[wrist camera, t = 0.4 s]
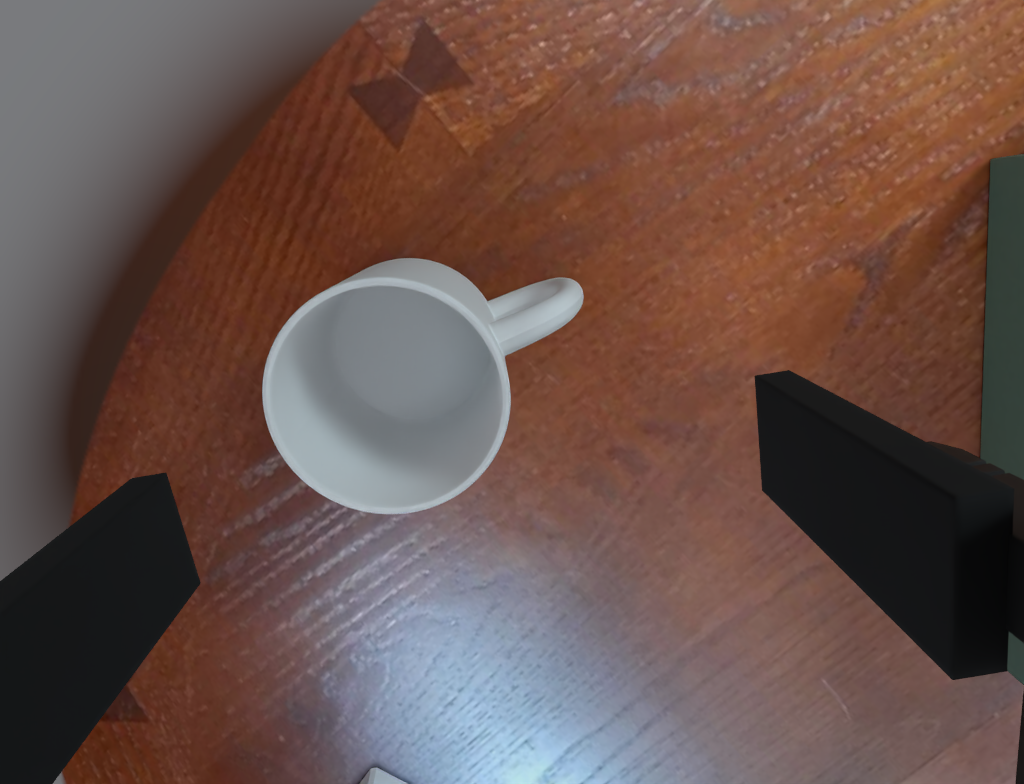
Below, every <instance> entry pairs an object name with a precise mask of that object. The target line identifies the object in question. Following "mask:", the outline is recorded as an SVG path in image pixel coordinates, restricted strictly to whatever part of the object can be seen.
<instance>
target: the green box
mask: <svg viewBox="0 0 1024 784" xmlns="http://www.w3.org/2000/svg"><path fill="white" fill-rule="evenodd" d="M980 458H981V459H983V460H985V461H986V464H988V463H991V464H993V465H995V466H997V467H999V468H1001V469H1003V470H1004V471H1005V474H1006V473H1011V474H1013V475H1015V476H1017V477H1019V478H1021V479H1023V480H1024V154H1020V155H1013V156H1007V157H1000V158H994V159H991V161H990V188H989V217H988V247H987V276H986V305H985V334H984V363H983V393H982V422H981V451H980ZM1007 671H1008V672H1009V673H1011V674H1012V675H1013V676H1014V677H1015V678H1016V679H1017V680H1019V681H1020V682H1021V683H1022V684H1023V685H1024V643H1023V642H1021V641H1020V640H1019V639H1018V638H1016V637H1015V636H1014V635H1013V634H1011V633H1010V632H1009V637H1008V663H1007Z"/></svg>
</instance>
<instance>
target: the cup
mask: <svg viewBox="0 0 1024 784" xmlns="http://www.w3.org/2000/svg"><path fill="white" fill-rule="evenodd" d="M583 297H584V296H583V290H582V288H581V286H580V285H579V284H578V283H577V282H576V281H574V280H573V279H570V278H553V279H548V280H545V281H541V282H538V283H534V284H531V285H528V286H526V287H523V288H520V289H518V290H515V291H512V292H510V293H507V294H505V295H502V296H500V297H497V298H495V299H492V300H490V301H487V300H486V299H485V297H484V296H483V294H482V293H481V292H480V291H479V289H478V288H477V287H476V286H475V285H474V284H473V283H472V282H471V281H470V280H468V279H467V278H466V277H465V276H463V275H462V274H460V273H459V272H457V271H455V270H454V269H452V268H450V267H448V266H445V265H443V264H440V263H437V262H434V261H430V260H425V259H417V258H402V259H394V260H389V261H385V262H381V263H378V264H375V265H373V266H371V267H368V268H366V269H364V270H363V271H361V272H359V273H357V274H355V275H353V276H351V277H349V278H347V279H346V280H344V281H342V282H340V283H338V284H336V285H334V286H332V287H331V288H329V289H327V290H325V291H323V292H321V293H319V294H318V295H316V296H315V297H313V298H312V299H310V300H309V301H307V302H306V303H305V304H304V305H302V306H301V307H300V308H299V309H298V310H297V311H296V312H295V313H294V314H293V315H292V316H291V317H290V318H289V319H288V321H287V322H286V323H285V325H284V326H283V327H282V329H281V330H280V332H279V334H278V335H277V337H276V339H275V341H274V343H273V345H272V347H271V349H270V352H269V355H268V358H267V361H266V365H265V369H264V375H263V384H262V398H263V408H264V414H265V419H266V422H267V426H268V429H269V432H270V434H271V437H272V439H273V441H274V443H275V445H276V447H277V449H278V451H279V452H280V454H281V456H282V457H283V459H284V460H285V461H286V463H287V464H288V465H289V467H290V468H291V469H292V470H293V471H294V472H295V473H296V474H297V475H298V476H299V478H300V479H302V480H303V481H304V482H305V483H306V484H307V485H309V486H310V487H311V488H313V489H314V490H315V491H317V492H318V493H320V494H321V495H323V496H325V497H326V498H328V499H330V500H332V501H334V502H336V503H339V504H341V505H344V506H346V507H349V508H352V509H356V510H360V511H364V512H370V513H377V514H404V513H411V512H417V511H421V510H425V509H428V508H432V507H434V506H437V505H439V504H442V503H444V502H446V501H448V500H450V499H452V498H453V497H455V496H457V495H458V494H460V493H461V492H463V491H464V490H465V489H467V488H468V487H469V486H471V485H472V484H473V483H474V482H475V481H476V480H477V479H478V478H479V477H480V476H481V475H482V474H483V472H484V471H485V470H486V469H487V468H488V466H489V465H490V463H491V462H492V461H493V459H494V457H495V455H496V454H497V452H498V450H499V448H500V446H501V443H502V441H503V439H504V436H505V433H506V430H507V425H508V421H509V414H510V400H511V394H510V383H509V378H508V373H507V367H506V362H505V356H506V355H508V354H511V353H513V352H515V351H517V350H519V349H521V348H523V347H526V346H528V345H530V344H532V343H534V342H536V341H538V340H540V339H542V338H544V337H546V336H548V335H549V334H551V333H553V332H555V331H556V330H558V329H560V328H561V327H563V326H564V325H565V324H567V323H568V322H569V321H570V320H572V319H573V318H574V316H575V315H576V314H577V313H578V311H579V310H580V308H581V306H582V303H583Z"/></svg>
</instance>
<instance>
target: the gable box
mask: <svg viewBox="0 0 1024 784" xmlns="http://www.w3.org/2000/svg"><path fill="white" fill-rule="evenodd" d="M359 784H407V783H406V782H404V781H402V780H400V779H398V778H396V777H394V776H392V775H390V774H388V773H386V772H385V771H383V770H381V769H379V768H377V767H374V768H371V769H370V770H369V772H368V773H367V774H366V776H365V777H364V778H363V779H362V781H361V782H360V783H359Z"/></svg>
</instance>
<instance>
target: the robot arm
mask: <svg viewBox="0 0 1024 784" xmlns="http://www.w3.org/2000/svg"><path fill="white" fill-rule="evenodd" d="M755 387H756V402H757V417H758V433H759V448H760V463H761V479H762V491H763V492H764V493H765V494H767V495H768V496H769V497H770V498H771V499H772V500H773V501H774V502H775V503H776V504H777V505H778V506H779V507H780V508H781V509H782V510H783V511H784V512H785V513H786V514H787V515H788V516H789V517H790V518H791V519H792V520H793V521H794V522H795V523H796V524H797V525H798V526H799V527H800V528H801V529H802V530H803V531H804V532H805V533H806V534H807V535H808V536H809V537H810V538H811V539H812V540H813V541H814V542H815V543H816V544H817V545H818V546H819V547H820V548H821V549H822V550H823V551H824V552H825V553H826V554H827V555H828V556H829V557H830V558H831V559H832V560H833V561H834V562H835V563H836V564H837V565H838V566H839V567H840V568H841V569H842V570H843V571H844V572H845V573H846V574H847V575H848V576H849V577H850V578H851V579H852V580H853V581H854V582H855V583H856V584H857V585H858V586H859V587H860V588H861V589H862V590H863V591H864V592H865V593H866V594H867V595H868V596H869V597H870V598H871V599H872V600H873V601H874V602H875V603H876V604H877V605H878V606H879V607H880V608H881V609H882V610H883V611H884V612H885V613H886V614H887V615H888V616H889V617H890V618H891V619H892V620H893V621H894V622H895V623H896V624H897V625H898V626H899V627H900V628H901V629H902V630H903V631H904V632H905V633H906V634H907V635H908V636H909V637H910V638H911V639H912V640H913V641H914V642H915V643H916V644H917V645H918V646H919V647H920V648H921V649H922V650H923V651H924V652H925V653H926V654H927V655H928V656H929V657H930V658H931V659H932V660H933V661H934V662H935V663H936V664H937V665H938V666H939V667H940V668H941V669H942V670H943V671H944V672H945V673H946V674H947V675H948V676H949V677H950V678H951V679H952V680H956V679H962V678H968V677H974V676H980V675H986V674H992V673H998V672H1004V671H1007V663H1008V637H1009V632H1010V633H1011V634H1013V635H1014V636H1015V637H1016V638H1018V639H1019V640H1020V641H1021V642H1023V643H1024V480H1023V479H1021V478H1019V477H1017V476H1015V475H1013V474H1011V473H1006V474H1005V471H1004V470H1003V469H1001V468H999V467H997V466H995V465H993V464H991V463H988V464H986V461H985V460H983V459H981V458H979V457H977V456H975V455H973V454H971V453H969V452H967V451H965V450H963V449H959V448H955V447H951V446H947V445H943V444H939V443H935V442H925V441H923V440H921V439H919V438H917V437H915V436H913V435H911V434H909V433H907V432H906V431H904V430H902V429H900V428H898V427H896V426H894V425H892V424H890V423H888V422H886V421H885V420H883V419H881V418H879V417H877V416H875V415H873V414H871V413H869V412H867V411H866V410H864V409H862V408H860V407H858V406H856V405H854V404H852V403H850V402H848V401H846V400H845V399H843V398H841V397H839V396H837V395H835V394H833V393H831V392H829V391H827V390H826V389H824V388H822V387H820V386H818V385H816V384H814V383H812V382H810V381H808V380H806V379H805V378H803V377H801V376H799V375H797V374H795V373H793V372H791V371H789V370H788V371H782V372H776V373H770V374H763V375H757V376H755ZM199 585H200V580H199V577H198V573H197V570H196V567H195V564H194V561H193V557H192V554H191V551H190V548H189V544H188V541H187V538H186V535H185V532H184V528H183V525H182V522H181V519H180V516H179V512H178V509H177V506H176V503H175V499H174V496H173V493H172V490H171V487H170V483H169V480H168V477H167V474H166V473H161V474H155V475H149V476H143V477H137V478H132V479H130V480H129V481H128V482H126V483H125V484H124V485H123V486H121V487H120V488H119V489H118V490H116V491H115V492H114V493H112V494H111V495H110V496H109V497H107V498H106V499H105V500H103V501H102V502H101V503H100V504H98V505H97V506H96V507H95V508H93V509H92V510H91V511H89V512H88V513H87V514H86V515H84V516H83V517H82V518H80V519H79V520H78V521H77V522H75V523H74V524H73V525H72V526H70V527H69V528H68V529H66V530H65V531H64V532H63V533H61V534H60V535H59V536H57V537H56V538H55V539H54V540H52V541H51V542H50V543H49V544H47V545H46V546H45V547H43V548H42V549H41V550H40V551H38V552H37V553H36V554H34V555H33V556H32V557H31V558H30V559H28V560H27V561H26V562H24V563H23V564H22V565H21V566H19V567H18V568H17V569H15V570H14V571H13V572H12V573H10V574H9V575H8V576H6V577H5V578H4V579H3V580H1V581H0V784H53V782H54V781H55V780H56V778H57V777H58V776H59V774H60V773H61V771H62V770H63V769H64V767H65V766H66V765H67V763H68V762H69V761H70V759H71V758H72V757H73V755H74V754H75V752H76V751H77V750H78V748H79V747H80V746H81V744H82V743H83V742H84V740H85V739H86V738H87V736H88V735H89V734H90V732H91V731H92V729H93V728H94V727H95V725H96V724H97V723H98V721H99V720H100V719H101V717H102V716H103V715H104V713H105V712H106V710H107V709H108V708H109V706H110V705H111V704H112V702H113V701H114V700H115V698H116V697H117V696H118V694H119V693H120V692H121V690H122V689H123V687H124V686H125V685H126V683H127V682H128V681H129V679H130V678H131V677H132V675H133V674H134V673H135V671H136V670H137V669H138V667H139V666H140V664H141V663H142V662H143V660H144V659H145V658H146V656H147V655H148V654H149V652H150V651H151V650H152V648H153V647H154V645H155V644H156V643H157V641H158V640H159V639H160V637H161V636H162V635H163V633H164V632H165V631H166V629H167V628H168V627H169V625H170V624H171V622H172V621H173V620H174V618H175V617H176V616H177V614H178V613H179V612H180V610H181V609H182V608H183V606H184V605H185V603H186V602H187V601H188V599H189V598H190V597H191V595H192V594H193V593H194V591H195V590H196V589H197V587H198V586H199ZM1016 784H1024V693H1023V704H1022V716H1021V727H1020V739H1019V750H1018V762H1017V774H1016Z"/></svg>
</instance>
